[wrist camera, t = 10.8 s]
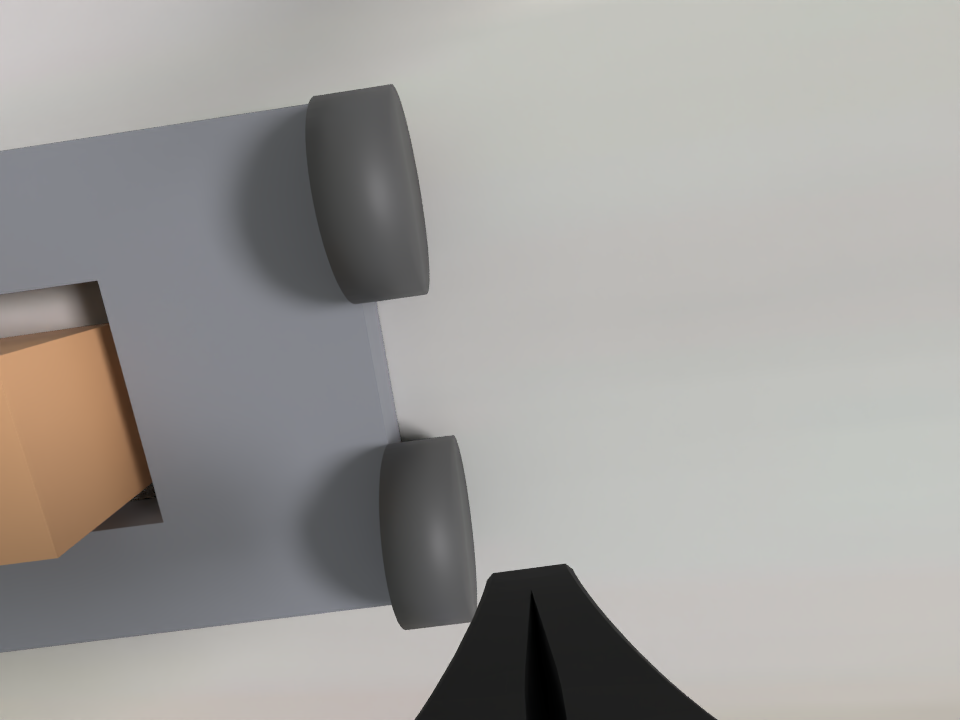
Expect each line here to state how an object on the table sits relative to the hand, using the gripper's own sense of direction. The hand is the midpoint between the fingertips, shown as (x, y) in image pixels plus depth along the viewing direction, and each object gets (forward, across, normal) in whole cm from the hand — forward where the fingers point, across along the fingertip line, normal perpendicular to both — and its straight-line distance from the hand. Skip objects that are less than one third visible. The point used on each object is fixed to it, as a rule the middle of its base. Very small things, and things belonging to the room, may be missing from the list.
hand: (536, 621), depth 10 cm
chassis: (+9, +13, -3) cm, 17 cm away
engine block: (+10, +13, -3) cm, 17 cm away
